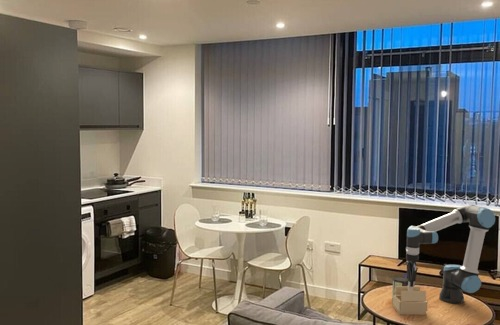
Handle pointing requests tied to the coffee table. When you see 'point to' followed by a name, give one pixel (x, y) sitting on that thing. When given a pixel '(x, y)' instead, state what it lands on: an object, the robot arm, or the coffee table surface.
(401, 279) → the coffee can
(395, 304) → the carton
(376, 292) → the coffee table surface
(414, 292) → the flap near camera
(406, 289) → the flap far
